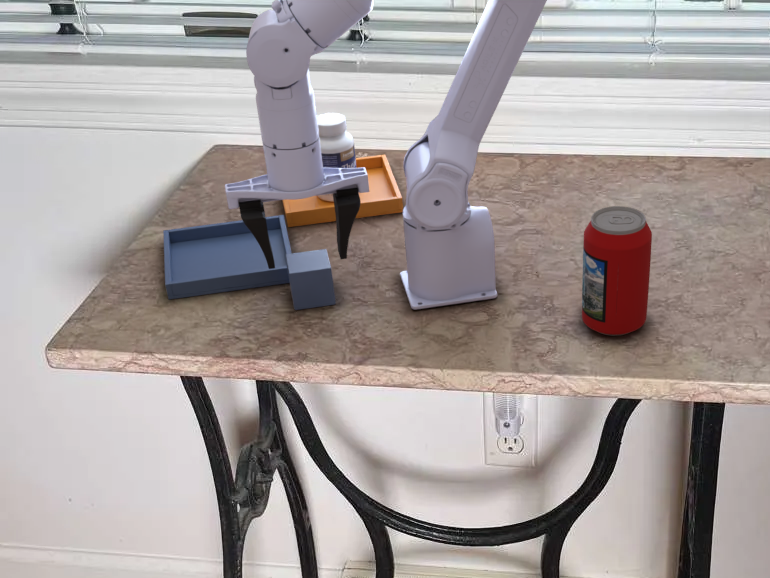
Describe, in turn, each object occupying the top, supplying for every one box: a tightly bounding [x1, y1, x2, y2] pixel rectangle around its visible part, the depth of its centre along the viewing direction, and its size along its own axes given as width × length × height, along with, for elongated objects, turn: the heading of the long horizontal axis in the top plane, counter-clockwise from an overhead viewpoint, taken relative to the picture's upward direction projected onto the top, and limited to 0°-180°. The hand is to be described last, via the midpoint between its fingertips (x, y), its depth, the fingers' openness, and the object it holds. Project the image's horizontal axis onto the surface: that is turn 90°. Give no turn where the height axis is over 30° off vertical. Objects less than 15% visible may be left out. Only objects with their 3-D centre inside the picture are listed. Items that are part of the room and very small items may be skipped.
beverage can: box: [581, 205, 653, 337], centre depth 120 cm, size 7×7×12 cm
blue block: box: [285, 248, 337, 311], centre depth 129 cm, size 4×4×4 cm
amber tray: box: [281, 154, 404, 228], centre depth 149 cm, size 14×13×2 cm
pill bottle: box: [317, 112, 357, 202], centre depth 146 cm, size 5×5×10 cm
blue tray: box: [162, 214, 292, 300], centre depth 136 cm, size 14×13×2 cm
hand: (307, 259), depth 127 cm, fingers open, 7 cm apart
